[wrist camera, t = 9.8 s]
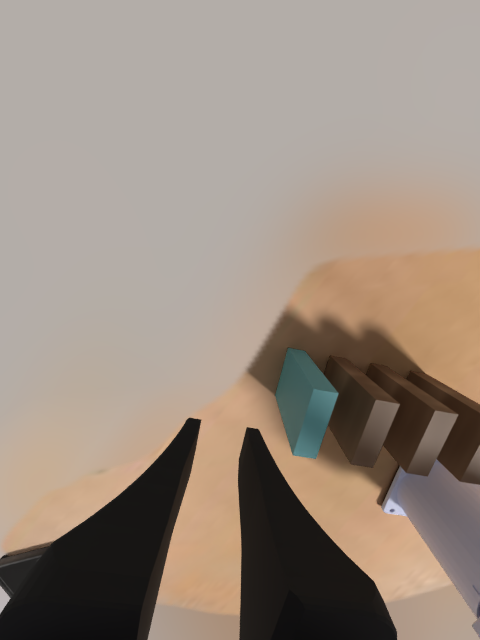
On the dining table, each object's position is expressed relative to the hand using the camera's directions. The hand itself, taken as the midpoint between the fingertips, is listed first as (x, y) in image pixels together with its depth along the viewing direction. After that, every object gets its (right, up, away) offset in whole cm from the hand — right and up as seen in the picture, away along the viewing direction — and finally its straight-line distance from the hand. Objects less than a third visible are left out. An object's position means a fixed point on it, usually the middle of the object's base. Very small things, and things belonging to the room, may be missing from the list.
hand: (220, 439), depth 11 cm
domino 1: (+10, 0, +10) cm, 14 cm away
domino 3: (+18, -1, +10) cm, 20 cm away
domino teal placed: (+6, +1, +10) cm, 11 cm away
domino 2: (+14, 0, +10) cm, 17 cm away
